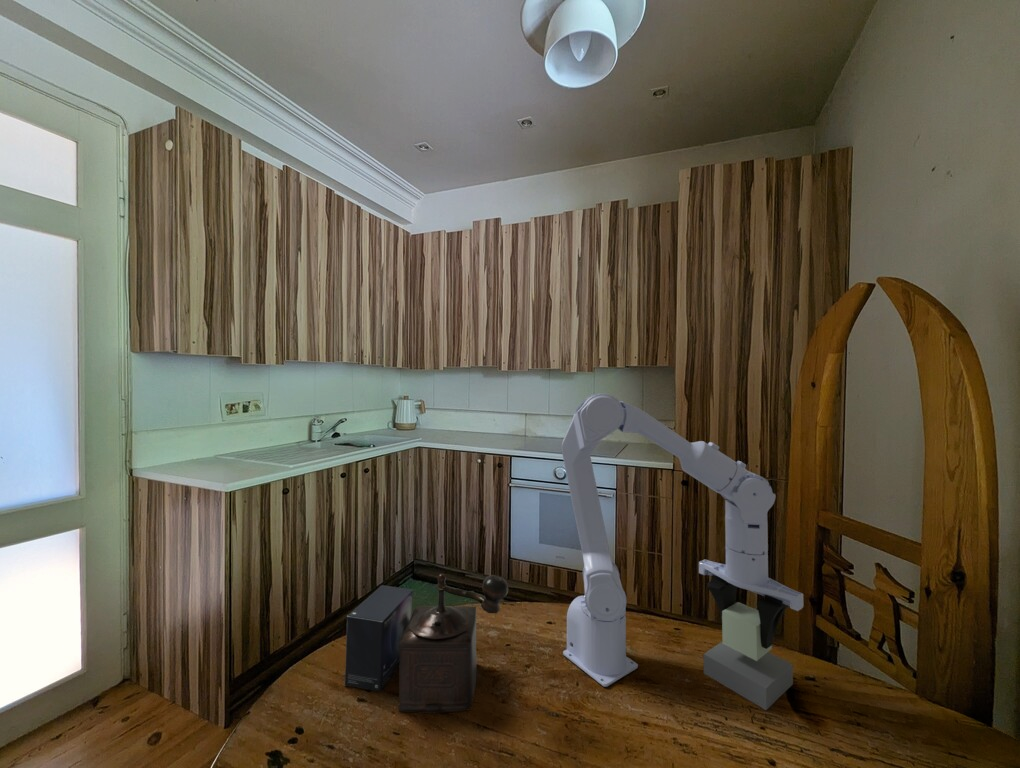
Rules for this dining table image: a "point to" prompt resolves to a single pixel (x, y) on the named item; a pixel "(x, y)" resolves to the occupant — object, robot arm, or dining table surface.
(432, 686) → the manual coffee grinder
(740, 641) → the green cube
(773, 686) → the gray plinth
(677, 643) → the dining table surface
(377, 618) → the small box
